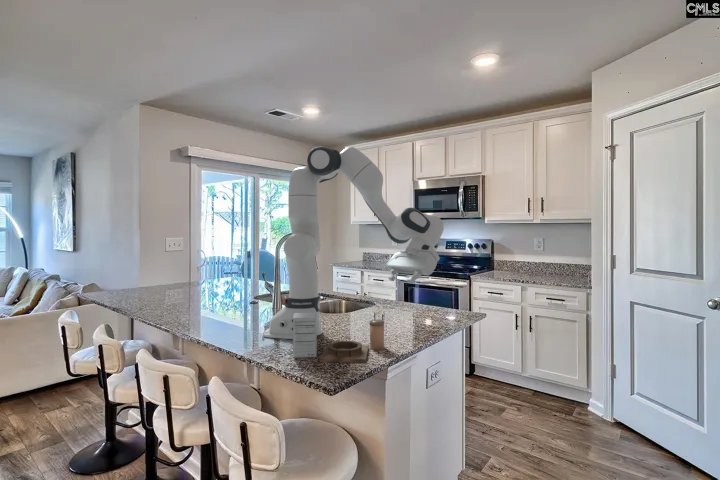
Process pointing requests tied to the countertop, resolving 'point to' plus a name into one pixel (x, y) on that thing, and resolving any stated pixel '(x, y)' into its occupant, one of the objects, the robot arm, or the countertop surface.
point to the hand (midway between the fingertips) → (400, 281)
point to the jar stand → (345, 352)
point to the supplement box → (304, 335)
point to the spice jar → (376, 334)
